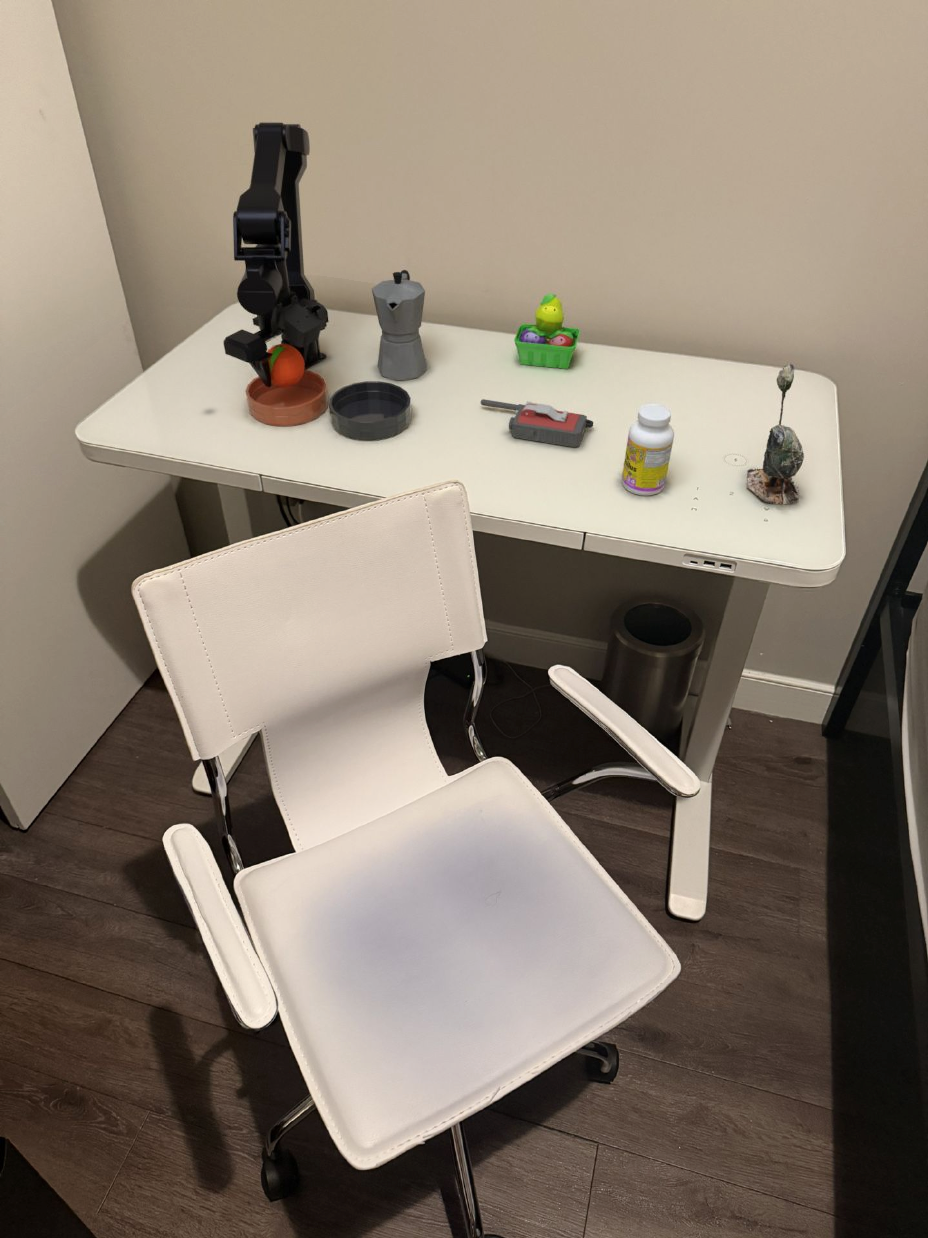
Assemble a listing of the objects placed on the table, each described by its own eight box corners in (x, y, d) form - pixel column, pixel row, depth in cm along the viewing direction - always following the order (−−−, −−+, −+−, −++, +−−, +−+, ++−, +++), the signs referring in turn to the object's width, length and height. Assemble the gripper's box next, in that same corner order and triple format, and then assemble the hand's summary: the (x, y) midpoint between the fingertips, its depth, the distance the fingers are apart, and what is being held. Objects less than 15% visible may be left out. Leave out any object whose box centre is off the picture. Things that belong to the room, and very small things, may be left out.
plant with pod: (742, 509, 133) (773, 388, 119) (745, 468, 141) (776, 350, 127) (798, 518, 131) (837, 396, 118) (799, 476, 139) (835, 357, 125)
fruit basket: (512, 366, 165) (514, 308, 157) (520, 345, 172) (523, 287, 164) (573, 373, 163) (578, 314, 156) (579, 351, 170) (584, 293, 162)
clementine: (294, 399, 149) (288, 360, 144) (256, 393, 150) (249, 354, 145) (313, 377, 154) (308, 338, 149) (277, 371, 156) (271, 333, 151)
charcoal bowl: (366, 391, 159) (365, 373, 156) (427, 415, 153) (426, 396, 150) (314, 424, 151) (312, 405, 148) (376, 450, 145) (374, 431, 142)
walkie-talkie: (595, 423, 151) (482, 405, 155) (598, 400, 148) (482, 382, 152) (584, 451, 145) (467, 431, 149) (587, 427, 142) (467, 407, 146)
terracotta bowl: (288, 379, 162) (285, 361, 159) (344, 402, 156) (342, 383, 154) (232, 410, 154) (229, 392, 151) (289, 435, 148) (286, 416, 146)
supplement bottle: (617, 473, 140) (627, 400, 131) (658, 471, 140) (671, 398, 131) (626, 498, 135) (637, 424, 126) (669, 496, 135) (683, 422, 127)
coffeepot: (422, 388, 160) (419, 289, 147) (370, 385, 160) (362, 286, 148) (433, 348, 171) (431, 253, 158) (385, 345, 171) (379, 251, 159)
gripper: (264, 321, 132) (279, 414, 142) (348, 279, 142) (356, 368, 153) (212, 302, 136) (231, 394, 147) (297, 263, 147) (309, 351, 158)
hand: (284, 376), depth 151 cm, fingers closed on clementine, 7 cm apart
